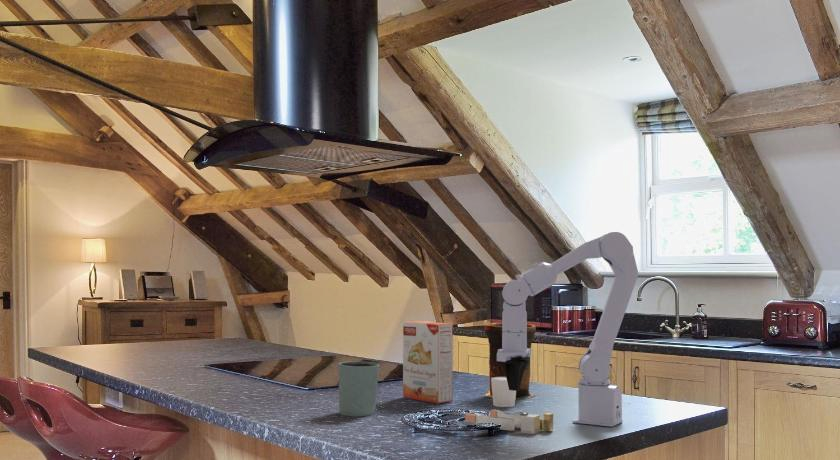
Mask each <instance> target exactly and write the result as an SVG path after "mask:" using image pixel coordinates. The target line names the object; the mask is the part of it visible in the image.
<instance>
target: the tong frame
mask: <svg viewBox="0 0 840 460" xmlns="http://www.w3.org/2000/svg"><path fill="white" fill-rule="evenodd" d="M510 414H511V415H510V417H511V418H519V419H521V429H520V433H521V434H528V435H535V434H538V433H540V432H541V430H540V418H541V415H540V414H532V413H529V412H526V411H521V412H515V413H510ZM511 418H502V417H493V416H490V415H482V414H474V413H466V414H464V422H465V421H466V422H473V423H494V424H500V425H501V428H500V429H499V430H502V431H512V432H513V431H515V427H514V419H511Z"/></svg>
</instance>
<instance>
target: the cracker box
mask: <svg viewBox="0 0 840 460" xmlns="http://www.w3.org/2000/svg"><path fill="white" fill-rule="evenodd" d="M402 324H403V326H402V328H403V329H402V334H403V335H402V336H403V337H402V338H403V339H402V341H403V343H402V344H403V345H402V347H403V348H402V397H403V398H406V399H410V400H411V399H412V400H417V401H423V402H428V403H432V404H439V405H440V404H445V403H449V402H450V403H451V402H453V385H454V383H453V380H454V379H453V373H454V372H453V370H454V369H453V367H454V365H453V363H454V362H453V357H454V356H453V355H454V354H453V353H454V352H453V351H454V350H453V349H454V347H453V346H454V345H453V341H454V340H453V339H454V338H453V336H454V332H453V329H454V325H453V323H447V322H438V321H437V322H436V321H425V320H407V321H403V323H402Z"/></svg>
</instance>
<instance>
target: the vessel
mask: <svg viewBox="0 0 840 460" xmlns="http://www.w3.org/2000/svg"><path fill="white" fill-rule="evenodd" d="M483 330H484V333H485V335H486V337H487V341H488V346H489V355H488V358H489V360H488V364H489V365H488V366H489V367H488V368H489V375H488V376H489V390H488V393H485V397H490V398H493V395H492V384H491V378H493V377H506V375H505V372H504V370H503V367H502V366H501V364H500V361H497V353H498V350H499V349H502V322H500V323H499V322H492V323H487V324H485V326H484V329H483ZM536 331H537V329H536V324H528V323H527V348H531V349H532V343H533V338H534V336H535V334H536ZM522 359H529V363H528V365H527V367H526V369H525V371H524V374H523V377H522V381H521V386H520V389H519V390H518V391H516V398H515V400H523V399H524V400H525V399H530V398H533V397H535V396H536V394H534V393H530V381H531V380H530V378H531V356H530V357H522Z"/></svg>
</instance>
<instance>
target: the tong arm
mask: <svg viewBox="0 0 840 460" xmlns="http://www.w3.org/2000/svg"><path fill="white" fill-rule="evenodd" d="M511 414H512V413H509V412H506V411H502V410H499V409H494V408H493V409H490V410H489V416H493V417H502V418H511V417H510V415H511ZM511 419H514V428H516V429H520V430H521V419H519V418H511Z"/></svg>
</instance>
